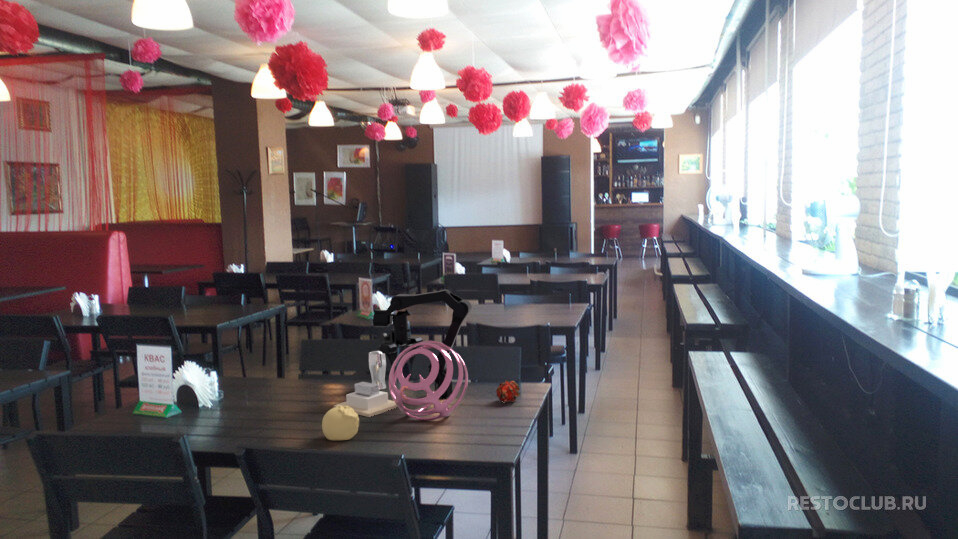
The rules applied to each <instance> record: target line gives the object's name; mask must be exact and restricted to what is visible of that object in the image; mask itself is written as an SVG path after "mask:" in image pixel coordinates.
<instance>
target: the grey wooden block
mask: <svg viewBox="0 0 958 539" xmlns="http://www.w3.org/2000/svg"><path fill="white" fill-rule="evenodd" d="M379 391H380V390H379V385H377V384H372V382H367V381H360V382H355V383H354V392H355V393H357V394H358V395H362V396H366V397H369V396H371V397H372V396H375V395H378V394H379Z"/></svg>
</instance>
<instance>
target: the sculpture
mask: <svg viewBox="0 0 958 539" xmlns="http://www.w3.org/2000/svg"><path fill="white" fill-rule="evenodd" d="M321 423H322V424H321V428H322V432H323V435H324V436H325V437H326V439H327V440H329V441H348V440H351V439H352V438H354V437H355V435H357V433H358V431H359V426H360V418H359V414H357V413H356V412H355V411H354V409H352V408H351V407H349V406H342V405H337V406H336V407H335V408H334V407H332V408H331V409H329V410H328V411H326V412H325V414H324V416H323V418H322V421H321Z"/></svg>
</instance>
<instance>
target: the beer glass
mask: <svg viewBox="0 0 958 539" xmlns="http://www.w3.org/2000/svg"><path fill="white" fill-rule="evenodd" d="M386 359H387V358H386V354H384V353H382V352H379V350H372V351H370V352H368V368H369V371H370V372H369V373H370V376H371V383H372V384H377V385H379V391H380V390H385V389H386V388H387V384H386V378H385V377H386V370H387V369H386V368H387V360H386Z"/></svg>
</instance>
